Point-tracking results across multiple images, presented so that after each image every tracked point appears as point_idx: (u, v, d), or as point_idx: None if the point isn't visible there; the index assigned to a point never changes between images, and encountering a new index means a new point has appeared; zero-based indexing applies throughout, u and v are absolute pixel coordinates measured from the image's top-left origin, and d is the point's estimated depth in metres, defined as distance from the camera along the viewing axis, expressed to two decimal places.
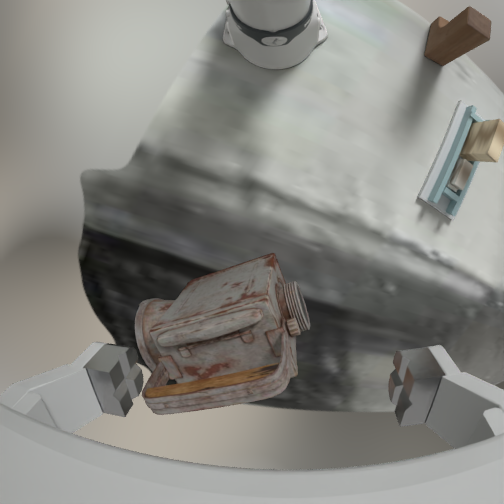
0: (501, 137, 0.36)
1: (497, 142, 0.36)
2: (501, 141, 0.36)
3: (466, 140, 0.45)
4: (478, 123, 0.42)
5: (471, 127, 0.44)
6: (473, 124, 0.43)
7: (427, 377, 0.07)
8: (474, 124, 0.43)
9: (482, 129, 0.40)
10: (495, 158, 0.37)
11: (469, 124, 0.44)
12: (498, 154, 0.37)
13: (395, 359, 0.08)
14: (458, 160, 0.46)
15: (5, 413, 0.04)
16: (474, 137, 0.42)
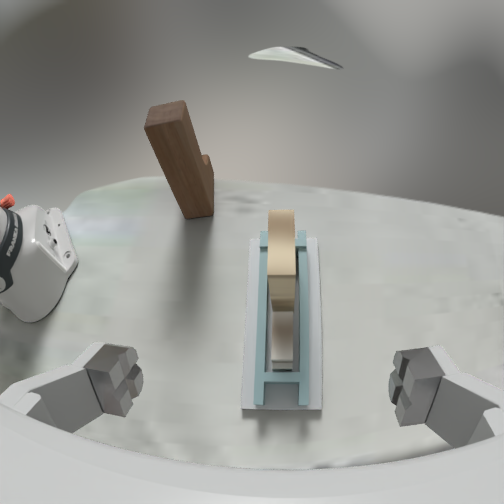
0: (284, 232, 0.30)
1: (279, 245, 0.29)
2: (287, 238, 0.29)
3: None
4: None
5: None
6: None
7: (427, 377, 0.07)
8: None
9: None
10: (288, 271, 0.28)
11: (265, 259, 0.38)
12: (291, 261, 0.28)
13: (395, 359, 0.08)
14: None
15: (5, 413, 0.04)
16: None
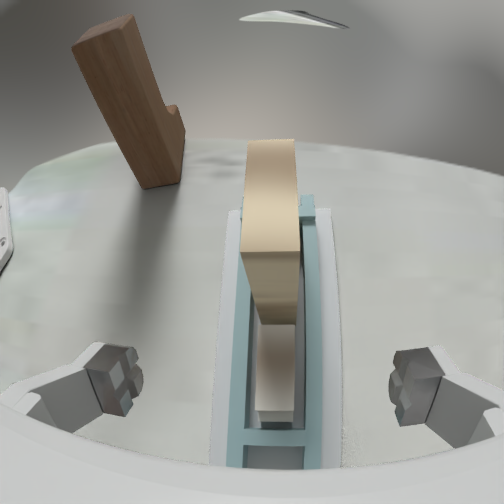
0: (277, 174, 0.15)
1: (267, 195, 0.15)
2: (283, 183, 0.15)
3: None
4: None
5: None
6: None
7: (427, 377, 0.07)
8: None
9: None
10: (284, 244, 0.13)
11: None
12: (291, 224, 0.14)
13: (395, 359, 0.08)
14: None
15: (5, 413, 0.04)
16: None
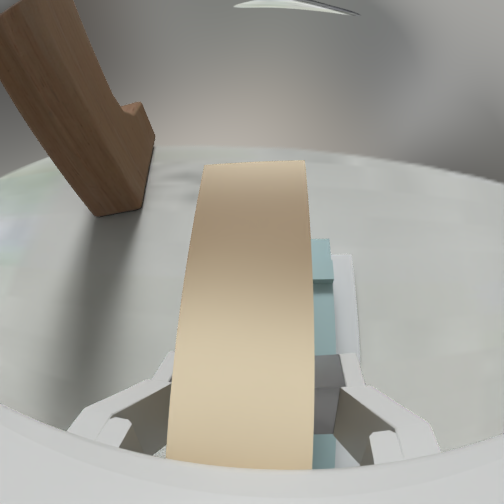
0: (264, 258, 0.06)
1: (236, 324, 0.06)
2: (277, 287, 0.06)
3: None
4: None
5: None
6: None
7: (323, 386, 0.07)
8: None
9: None
10: None
11: None
12: (293, 417, 0.05)
13: None
14: None
15: (5, 413, 0.04)
16: None
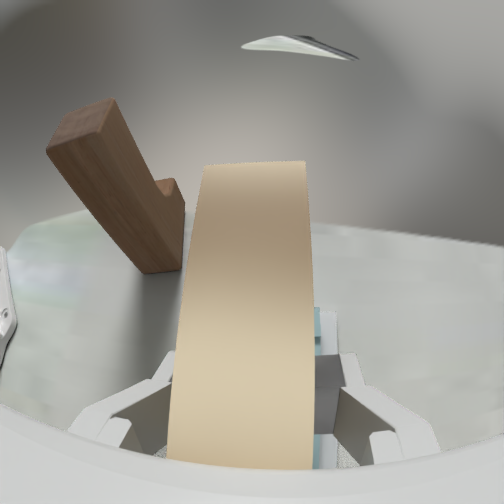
0: (265, 259, 0.06)
1: (236, 325, 0.06)
2: (278, 288, 0.06)
3: None
4: None
5: None
6: None
7: (323, 386, 0.07)
8: None
9: None
10: None
11: None
12: (293, 418, 0.05)
13: None
14: None
15: (5, 413, 0.04)
16: None
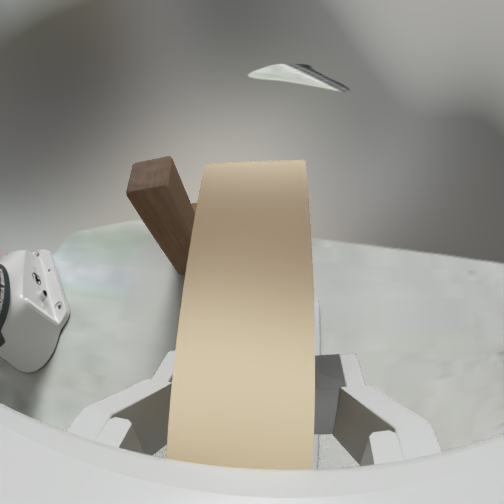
0: (265, 257, 0.06)
1: (236, 323, 0.06)
2: (278, 286, 0.06)
3: None
4: None
5: None
6: None
7: (323, 386, 0.07)
8: None
9: None
10: None
11: None
12: (293, 417, 0.05)
13: None
14: None
15: (5, 413, 0.04)
16: None
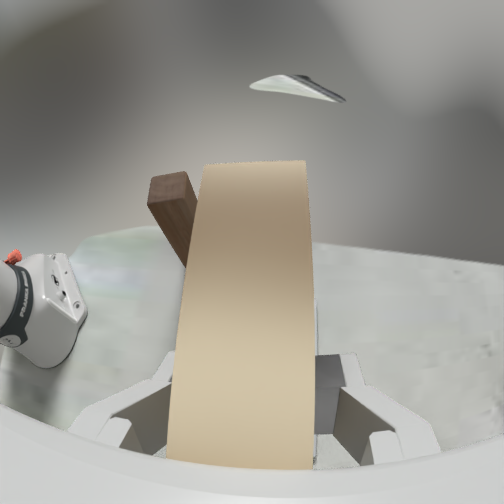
0: (265, 258, 0.06)
1: (236, 324, 0.06)
2: (278, 287, 0.06)
3: None
4: None
5: None
6: None
7: (323, 386, 0.07)
8: None
9: None
10: None
11: None
12: (293, 418, 0.05)
13: None
14: None
15: (5, 413, 0.04)
16: None
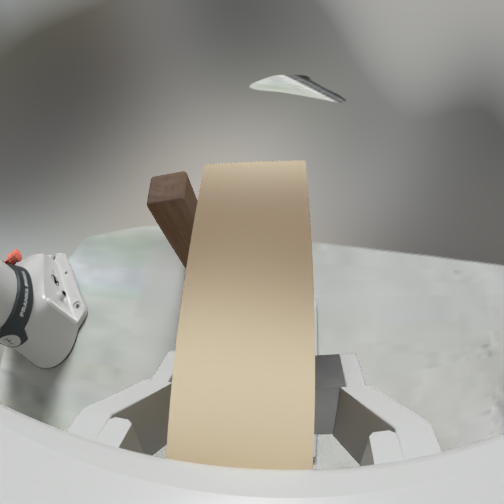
0: (265, 258, 0.06)
1: (236, 324, 0.06)
2: (278, 287, 0.06)
3: None
4: None
5: None
6: None
7: (323, 386, 0.07)
8: None
9: None
10: None
11: None
12: (293, 418, 0.05)
13: None
14: None
15: (5, 413, 0.04)
16: None
